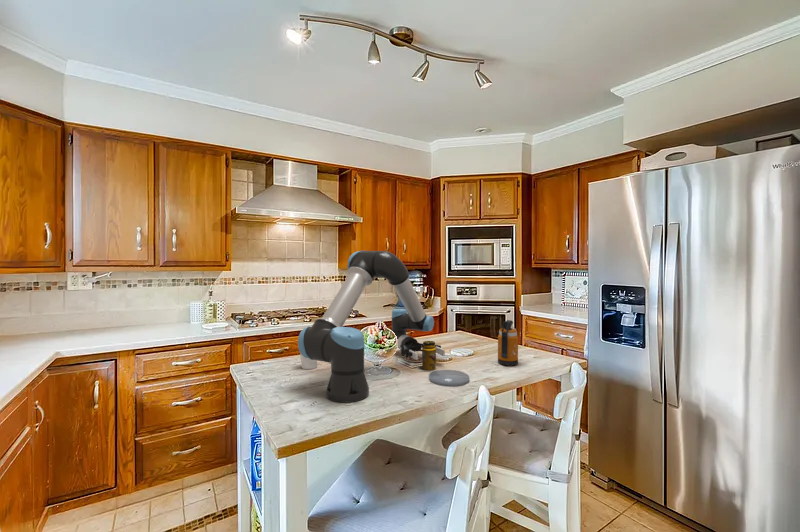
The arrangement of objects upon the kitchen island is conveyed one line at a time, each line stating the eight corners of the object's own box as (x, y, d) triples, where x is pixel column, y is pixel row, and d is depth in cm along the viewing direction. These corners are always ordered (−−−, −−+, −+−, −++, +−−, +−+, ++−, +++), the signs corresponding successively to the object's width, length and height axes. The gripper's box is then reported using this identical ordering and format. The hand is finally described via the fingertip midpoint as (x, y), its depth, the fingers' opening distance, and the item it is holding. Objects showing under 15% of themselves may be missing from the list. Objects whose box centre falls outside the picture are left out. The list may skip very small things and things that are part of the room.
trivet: (424, 383, 146) (424, 379, 146) (434, 371, 161) (434, 368, 161) (465, 388, 141) (465, 384, 141) (471, 375, 156) (471, 372, 156)
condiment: (438, 371, 162) (438, 343, 162) (418, 371, 161) (419, 344, 161) (434, 366, 170) (434, 339, 169) (415, 366, 168) (416, 340, 168)
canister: (520, 362, 175) (520, 319, 174) (513, 368, 166) (514, 323, 165) (501, 359, 180) (501, 318, 179) (493, 365, 170) (494, 321, 170)
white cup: (314, 370, 163) (314, 347, 162) (297, 369, 164) (296, 346, 164) (320, 365, 170) (320, 343, 170) (304, 364, 172) (304, 342, 171)
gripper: (430, 349, 187) (454, 359, 168) (384, 354, 176) (404, 367, 157) (430, 334, 187) (454, 343, 168) (384, 338, 176) (404, 349, 157)
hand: (430, 354), depth 162 cm, fingers open, 13 cm apart
